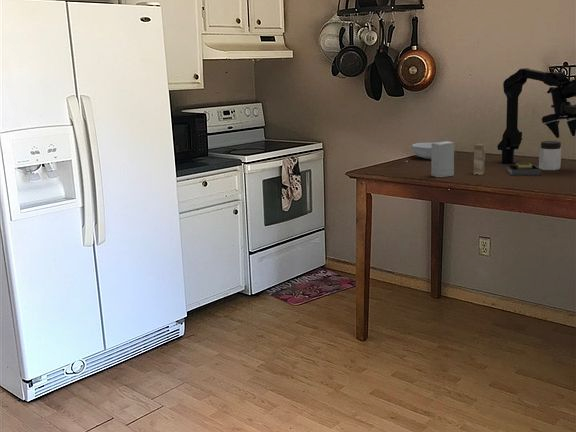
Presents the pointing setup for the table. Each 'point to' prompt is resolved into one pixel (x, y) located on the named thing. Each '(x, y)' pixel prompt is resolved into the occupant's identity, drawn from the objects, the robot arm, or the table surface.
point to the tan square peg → (479, 159)
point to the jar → (550, 155)
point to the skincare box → (442, 159)
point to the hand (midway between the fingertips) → (566, 137)
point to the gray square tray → (523, 169)
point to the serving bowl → (423, 150)
